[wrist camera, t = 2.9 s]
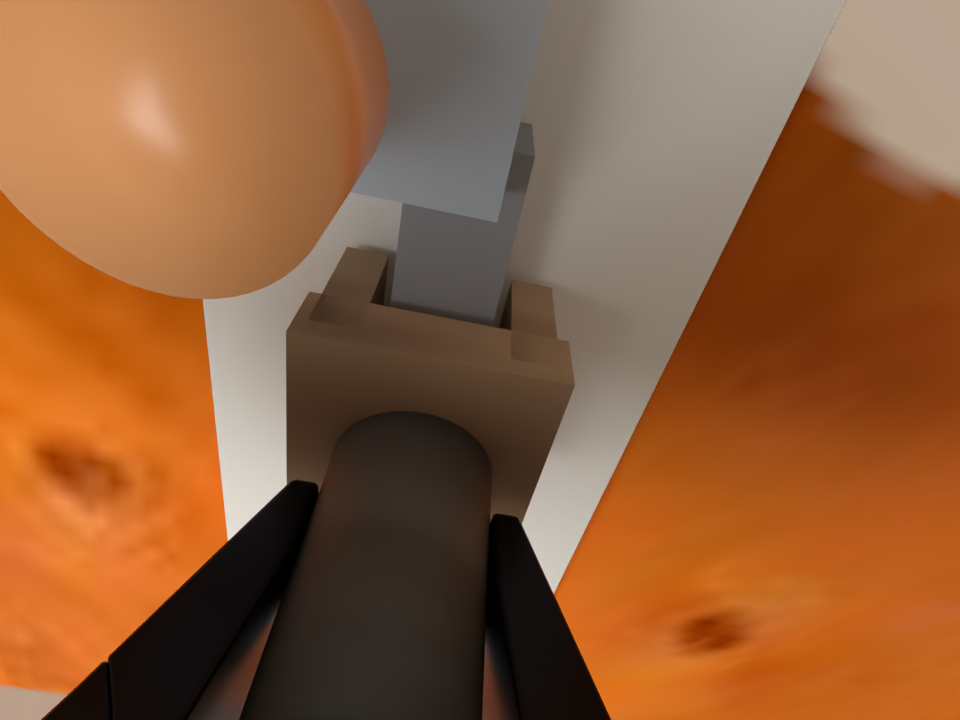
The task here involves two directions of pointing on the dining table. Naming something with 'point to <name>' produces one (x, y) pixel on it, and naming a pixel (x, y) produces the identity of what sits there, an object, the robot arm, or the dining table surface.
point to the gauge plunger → (188, 132)
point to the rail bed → (539, 207)
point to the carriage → (403, 495)
